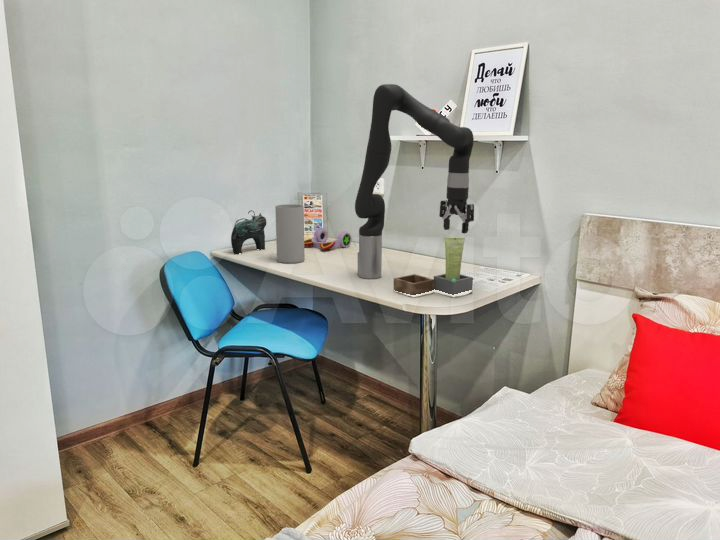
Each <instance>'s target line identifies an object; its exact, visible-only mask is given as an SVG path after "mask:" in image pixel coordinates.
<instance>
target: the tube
mask: <svg viewBox="0 0 720 540" xmlns="http://www.w3.org/2000/svg"><path fill="white" fill-rule="evenodd" d="M465 241H466V238H465V237H444V247H445V251H444V252H445V274H446V277H445V278H446V279H449V280H452V279H453V278H454V279H456V280H459V279H460V274H461V269H462V261H463V250H464V245H465Z"/></svg>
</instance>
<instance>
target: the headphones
mask: <svg viewBox="0 0 720 540" xmlns="http://www.w3.org/2000/svg"><path fill="white" fill-rule="evenodd" d="M328 237H329V234H328V231H327V230H326V228H325V227H319V228H317V229H315V231H314V234H313V236H312V237H311V238H307V239H304V247H312V248H315V249H317V250H318V249H319V250H323V251H326V250H331V249H334V248H338V247H340V248H341V247H345V248H348V247H349V246H350V245H351V244H352V235H351V233H349V232H348V231H346V230H345V231H341V232H340V233H339V234H338V236H337V239H335V240H331V241H327V240H328Z"/></svg>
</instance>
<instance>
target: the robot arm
mask: <svg viewBox="0 0 720 540" xmlns="http://www.w3.org/2000/svg"><path fill="white" fill-rule="evenodd" d="M393 111H399V112H402V113H403V114H406V115H408V116H409V117H411V118H412V119H413V120H414V121H415V123H417V124H418V125H419V126H420V127H421V128H423V129H424V130H426V131H427V132H429V133H431V134H432V135H434V136H436V137H438V138H439V139H440V140H441V141H442V142H443V143H445V144H446V145H448V146H449V147H451V148H453V153H452V155H450V158H449V160H448V169H447V170H448V172H447V179H446V199H445V200H440V204H439V217H440V218H442V219H443V229H444V231H449V230H450V227H451V226H450V225H451V219H450V218H451V217H452V216H453V215H456V216H458V218H460V219H461V221H462V223H461V234H467V233H468V232H469V225H470V222H471V223H472V222H474V221H475V205H474V203H469V204H468V203H467V201H468V199H469V188H470V177H469V176H470V159H471V155H472V151H473V147H474V133H473V131H472V129H470V128H468V127H466V126H457V125H455V124H454V123H452V122H451V120H450V119H449V118H448V117H446V116H444V115H443V114H441V113H440V112H437V111H435V110H434V109H432V108H430V107H429V106H427V105H425V104H423V103H422V102H420V101H419V100H418V99H417V98H415V97H414V96H413V95H411V93H409V92H408V91H407V90H405V88H403V87H402V86H400V85H398V84H393V83H389V84H387V83H384V84H383V83H382V84H380V85H379V86H378V87H376V89H375V91H374V94H373V100H372V111H371V123H370V129H369V135H368V141H367V147H366V151H365V157H364V159H365V160H364V165H363V170H362V174H361V180H360V184H359V186H358V190H357V193H356V197H355V201H354V202H355V203H354V211H355V215H356V216H357V218H359V219H362V220H363V219H365V220H366V219H367V221H366V222H365V223H364V224H363V225H361V226H360V227H359V230H358V252H357V276H358V277H359V278H362V279H368V280H369V279H371V280H373V279H379V277H380V278H381V277H382V265H383V264H382V261H383V260H382V259H383V254H382V253H383V230H384V227H385V216H386V215H385V213H386V204H385V199H384V198H383V196H382V195H381V194H378V193H374V190H375V187H376V186H377V185H376V184H377V183H378V181H379V180H380V179H381V178H382V176H383V174H384V173H385V171H386V170H387V168H388V166H389V164H390V158H391V153H392V140H391V136H390V135H391V134H390V128H389V127H390V126H389V125H390V120H391V114H392V112H393Z"/></svg>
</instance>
